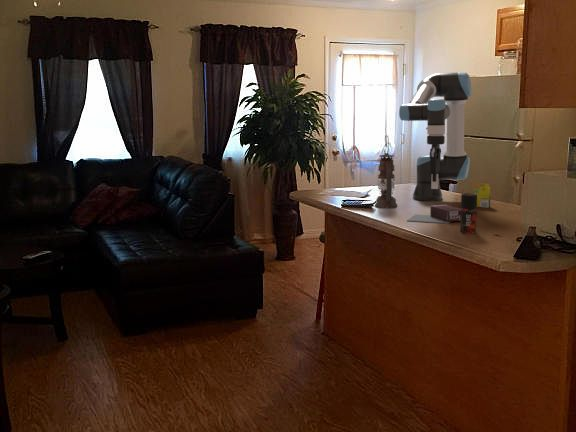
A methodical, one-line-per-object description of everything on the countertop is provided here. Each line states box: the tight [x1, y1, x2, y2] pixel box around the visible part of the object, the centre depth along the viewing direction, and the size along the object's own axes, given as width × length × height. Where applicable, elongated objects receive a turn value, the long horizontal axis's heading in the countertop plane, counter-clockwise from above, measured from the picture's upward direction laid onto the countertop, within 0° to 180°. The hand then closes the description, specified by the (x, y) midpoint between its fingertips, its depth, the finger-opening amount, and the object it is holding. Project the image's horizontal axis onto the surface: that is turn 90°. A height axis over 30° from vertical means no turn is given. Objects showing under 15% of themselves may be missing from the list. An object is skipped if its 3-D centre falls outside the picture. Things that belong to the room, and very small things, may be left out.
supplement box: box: [429, 204, 461, 223], centre depth 273 cm, size 9×5×16 cm
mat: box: [406, 213, 451, 225], centre depth 274 cm, size 15×18×1 cm
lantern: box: [374, 135, 398, 209], centre depth 306 cm, size 11×16×35 cm
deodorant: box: [459, 192, 478, 234], centre depth 246 cm, size 6×6×15 cm
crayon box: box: [473, 182, 492, 209], centre depth 302 cm, size 7×3×12 cm, turn 57°
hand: (434, 188), depth 277 cm, fingers closed
